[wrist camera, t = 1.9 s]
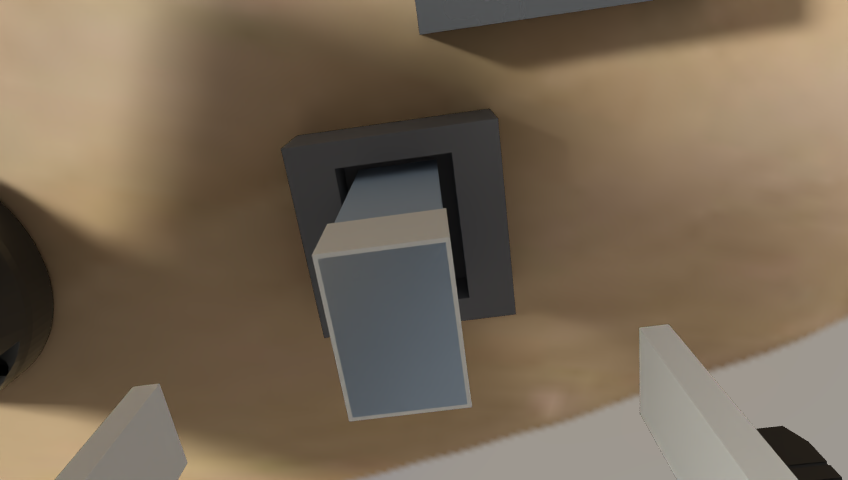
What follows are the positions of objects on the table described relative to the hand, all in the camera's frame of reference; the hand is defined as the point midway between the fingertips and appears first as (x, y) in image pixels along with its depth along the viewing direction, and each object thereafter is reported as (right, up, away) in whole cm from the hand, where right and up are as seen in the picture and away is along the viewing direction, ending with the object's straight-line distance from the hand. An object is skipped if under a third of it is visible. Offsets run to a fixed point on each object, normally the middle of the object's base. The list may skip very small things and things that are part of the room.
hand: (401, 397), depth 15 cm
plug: (0, +5, +14) cm, 15 cm away
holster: (0, +6, +15) cm, 16 cm away
